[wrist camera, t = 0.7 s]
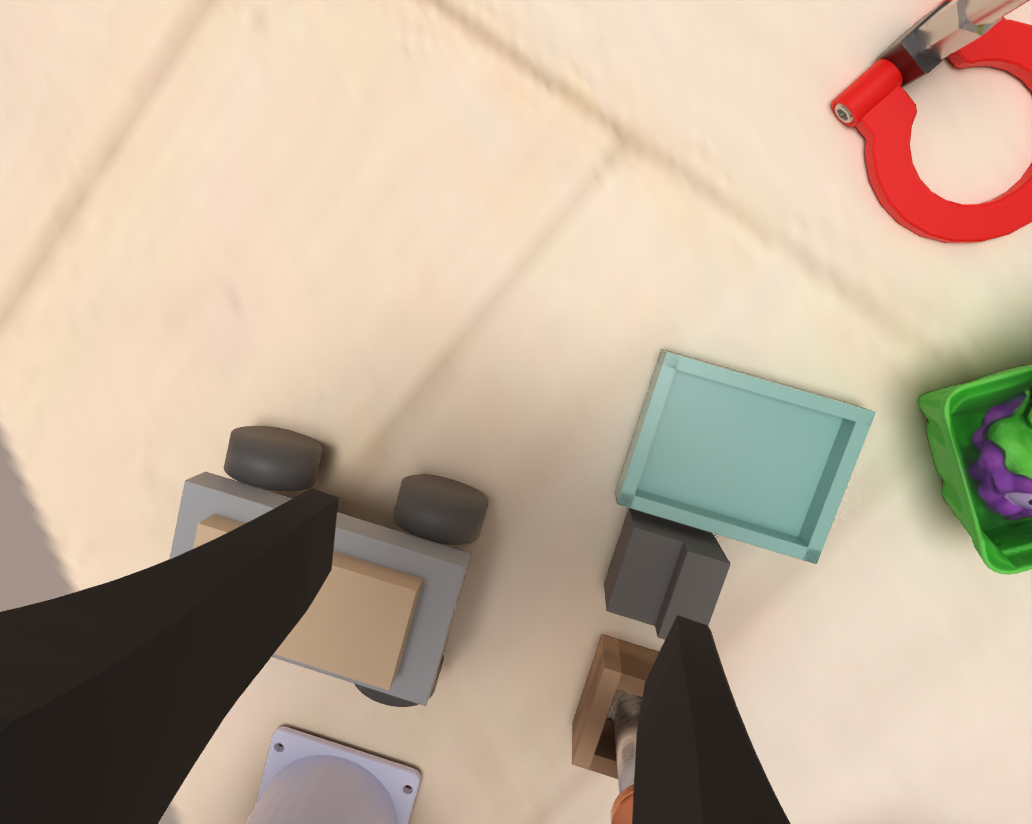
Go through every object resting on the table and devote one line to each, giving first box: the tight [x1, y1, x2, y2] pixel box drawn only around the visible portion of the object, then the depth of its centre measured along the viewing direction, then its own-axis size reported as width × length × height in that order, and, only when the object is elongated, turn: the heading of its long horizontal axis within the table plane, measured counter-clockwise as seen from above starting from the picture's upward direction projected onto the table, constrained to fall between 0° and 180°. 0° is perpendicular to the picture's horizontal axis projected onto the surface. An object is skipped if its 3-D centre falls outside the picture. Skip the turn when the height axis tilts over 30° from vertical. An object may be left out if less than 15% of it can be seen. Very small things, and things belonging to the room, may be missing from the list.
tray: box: [615, 349, 875, 564], centre depth 29 cm, size 7×9×2 cm
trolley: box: [170, 426, 488, 707], centre depth 29 cm, size 12×10×7 cm
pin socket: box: [572, 635, 659, 779], centre depth 31 cm, size 5×5×3 cm
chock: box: [604, 508, 730, 639], centre depth 29 cm, size 4×4×4 cm
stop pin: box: [611, 689, 642, 824], centre depth 28 cm, size 3×3×9 cm
